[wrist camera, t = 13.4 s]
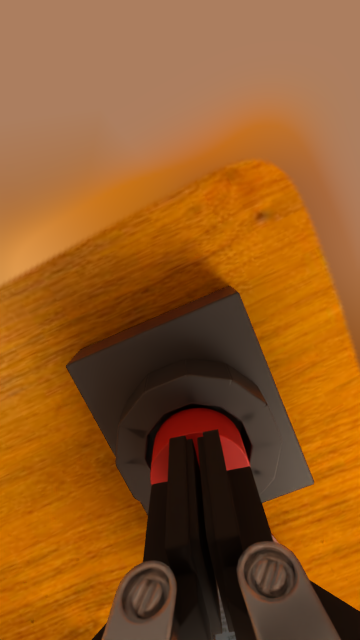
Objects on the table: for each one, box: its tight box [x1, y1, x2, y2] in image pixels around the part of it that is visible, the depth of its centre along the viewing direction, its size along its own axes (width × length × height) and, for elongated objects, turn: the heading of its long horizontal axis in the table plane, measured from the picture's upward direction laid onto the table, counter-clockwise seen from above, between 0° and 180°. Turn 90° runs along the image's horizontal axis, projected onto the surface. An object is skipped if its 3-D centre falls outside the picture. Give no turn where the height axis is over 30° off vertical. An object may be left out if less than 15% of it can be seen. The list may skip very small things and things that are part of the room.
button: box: [150, 408, 250, 485], centre depth 12 cm, size 4×4×2 cm
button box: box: [66, 286, 314, 515], centre depth 15 cm, size 10×8×4 cm
